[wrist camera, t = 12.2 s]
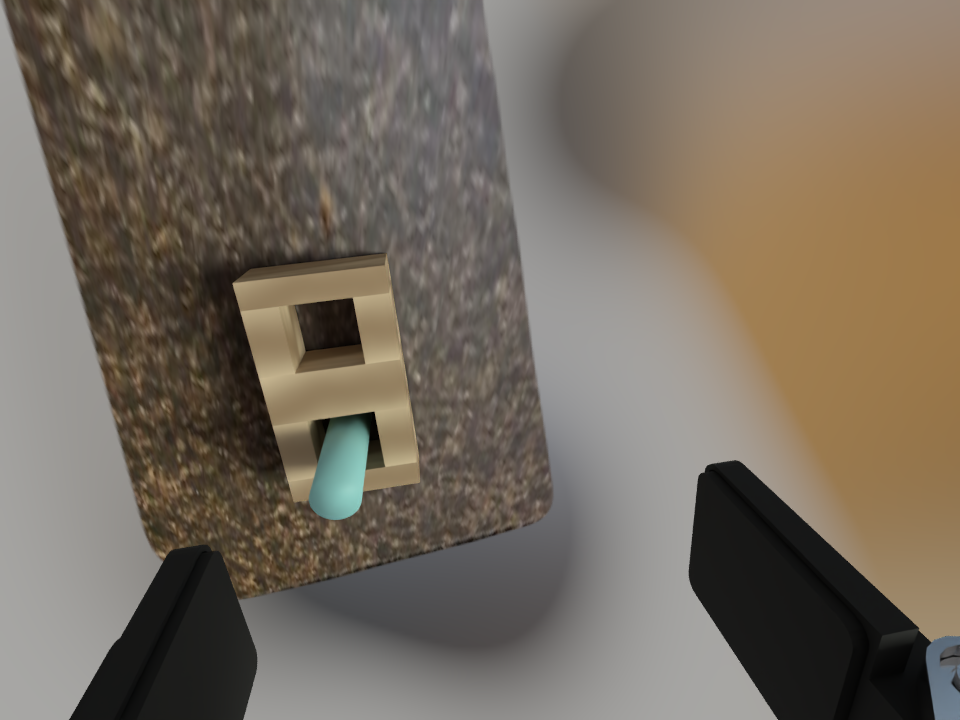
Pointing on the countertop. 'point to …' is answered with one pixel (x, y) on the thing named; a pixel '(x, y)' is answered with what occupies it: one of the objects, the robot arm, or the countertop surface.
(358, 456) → the peg
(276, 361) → the hole block
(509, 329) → the countertop surface
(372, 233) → the countertop surface
